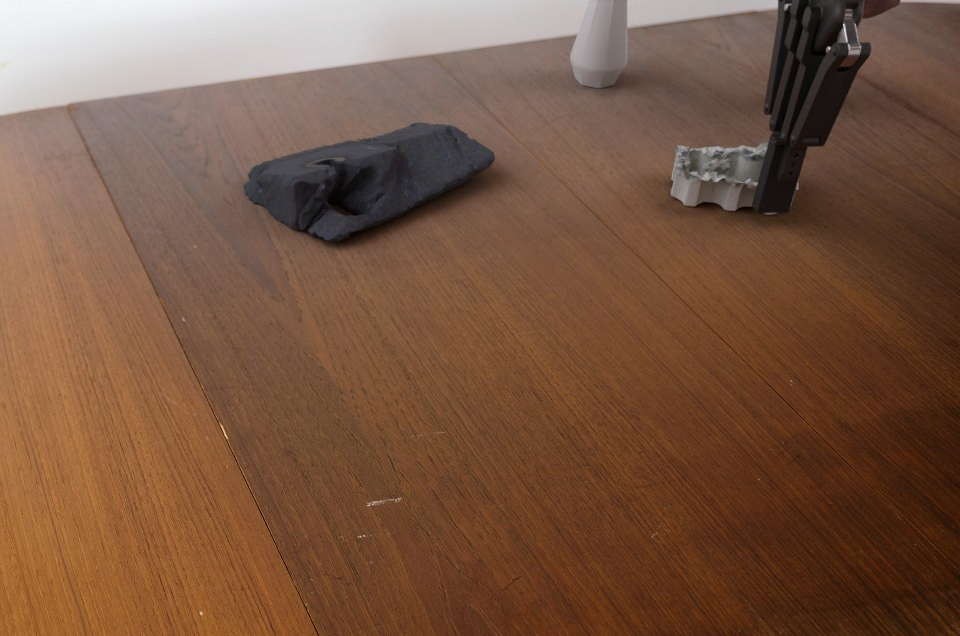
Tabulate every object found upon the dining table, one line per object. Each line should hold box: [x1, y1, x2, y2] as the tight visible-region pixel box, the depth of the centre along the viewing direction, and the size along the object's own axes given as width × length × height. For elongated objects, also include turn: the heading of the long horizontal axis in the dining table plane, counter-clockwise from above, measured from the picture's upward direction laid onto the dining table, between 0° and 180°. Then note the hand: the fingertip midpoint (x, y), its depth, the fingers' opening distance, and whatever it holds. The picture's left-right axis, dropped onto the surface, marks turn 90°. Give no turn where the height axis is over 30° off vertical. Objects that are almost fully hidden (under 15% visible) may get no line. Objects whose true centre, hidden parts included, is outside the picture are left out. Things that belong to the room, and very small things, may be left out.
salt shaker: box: [569, 0, 629, 89], centre depth 127 cm, size 6×6×13 cm
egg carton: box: [670, 141, 800, 216], centre depth 111 cm, size 11×8×4 cm
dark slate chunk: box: [243, 122, 496, 243], centre depth 113 cm, size 15×22×5 cm
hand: (770, 208), depth 107 cm, fingers closed
